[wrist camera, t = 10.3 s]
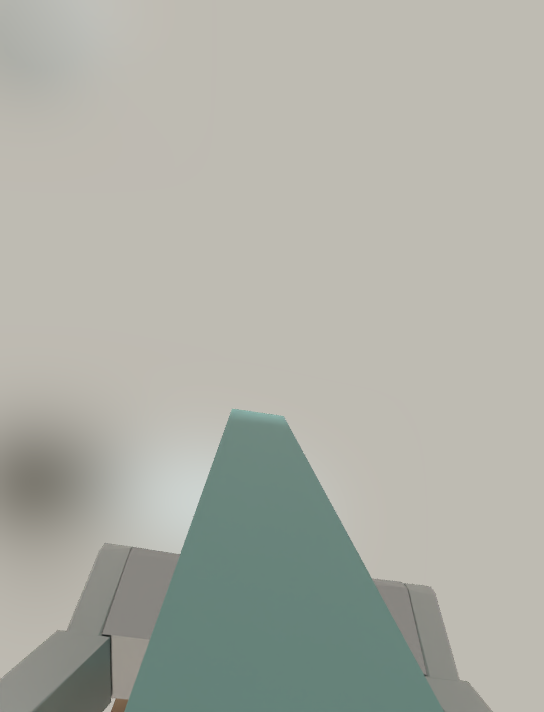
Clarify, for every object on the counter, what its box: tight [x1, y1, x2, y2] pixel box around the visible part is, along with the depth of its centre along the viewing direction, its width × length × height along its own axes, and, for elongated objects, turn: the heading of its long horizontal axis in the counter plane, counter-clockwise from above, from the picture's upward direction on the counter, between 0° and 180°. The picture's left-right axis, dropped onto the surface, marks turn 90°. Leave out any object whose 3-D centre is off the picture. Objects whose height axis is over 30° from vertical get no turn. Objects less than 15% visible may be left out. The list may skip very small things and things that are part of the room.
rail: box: [124, 409, 444, 712], centre depth 16 cm, size 26×3×3 cm, turn 2°
